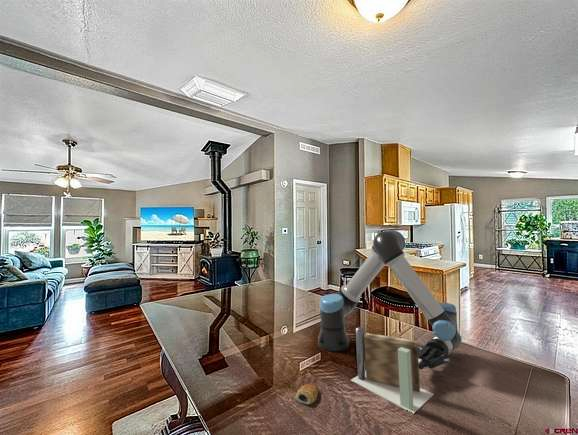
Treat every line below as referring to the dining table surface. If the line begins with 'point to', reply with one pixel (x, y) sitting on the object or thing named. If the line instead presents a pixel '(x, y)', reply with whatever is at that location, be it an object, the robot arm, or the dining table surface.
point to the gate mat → (394, 393)
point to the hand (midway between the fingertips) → (411, 369)
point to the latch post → (405, 378)
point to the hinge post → (360, 353)
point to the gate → (389, 359)
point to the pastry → (307, 394)
